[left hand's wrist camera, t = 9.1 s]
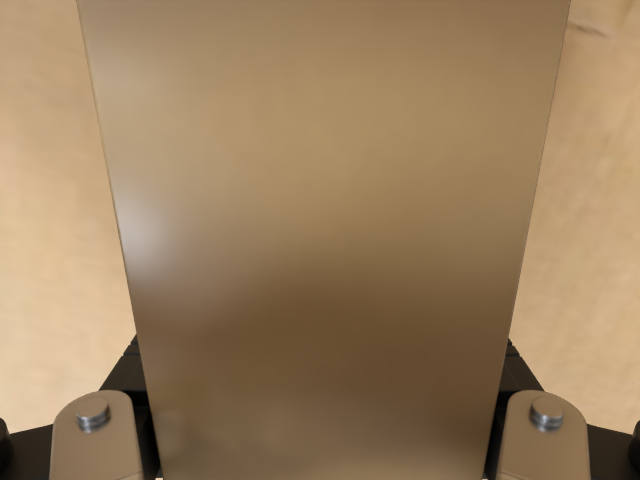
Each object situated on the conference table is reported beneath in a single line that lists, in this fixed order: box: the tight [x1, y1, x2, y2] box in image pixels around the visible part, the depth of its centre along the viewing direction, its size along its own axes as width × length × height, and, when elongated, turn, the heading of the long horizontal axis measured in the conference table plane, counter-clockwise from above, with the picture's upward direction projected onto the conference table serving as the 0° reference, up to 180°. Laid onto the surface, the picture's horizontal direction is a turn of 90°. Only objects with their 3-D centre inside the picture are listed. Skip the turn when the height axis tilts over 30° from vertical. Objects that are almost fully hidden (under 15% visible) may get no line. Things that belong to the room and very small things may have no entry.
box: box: [76, 0, 571, 480], centre depth 10 cm, size 20×6×9 cm, turn 0°
